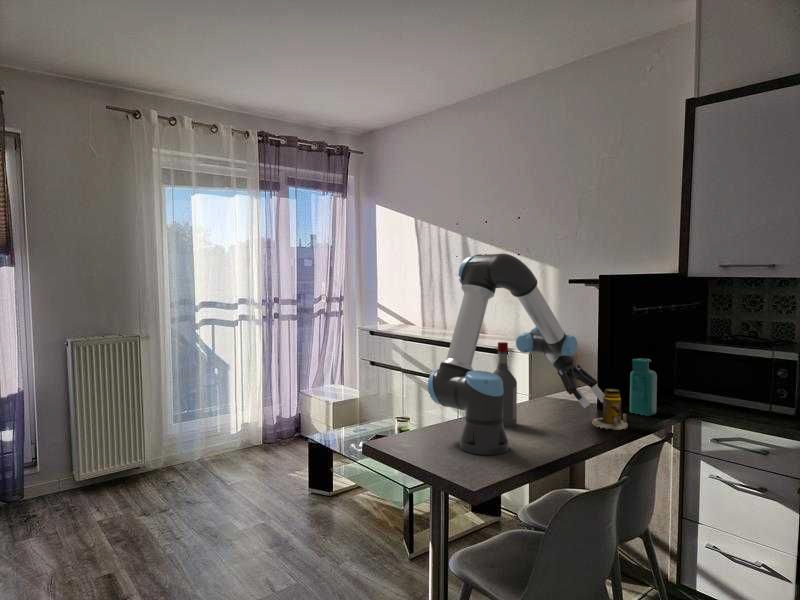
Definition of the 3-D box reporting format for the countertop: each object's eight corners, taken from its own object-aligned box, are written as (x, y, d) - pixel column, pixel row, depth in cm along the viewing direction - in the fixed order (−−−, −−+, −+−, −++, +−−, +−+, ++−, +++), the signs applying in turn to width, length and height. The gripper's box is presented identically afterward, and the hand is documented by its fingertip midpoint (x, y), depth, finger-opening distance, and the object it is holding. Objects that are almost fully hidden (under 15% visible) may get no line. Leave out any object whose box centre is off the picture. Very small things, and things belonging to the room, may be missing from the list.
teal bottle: (635, 409, 216) (636, 356, 216) (657, 413, 210) (658, 358, 210) (626, 413, 209) (627, 358, 209) (648, 417, 203) (649, 360, 203)
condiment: (623, 425, 187) (623, 392, 187) (597, 424, 189) (598, 390, 189) (620, 420, 194) (620, 388, 194) (595, 419, 196) (596, 387, 196)
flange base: (599, 429, 186) (599, 418, 186) (587, 421, 198) (587, 410, 198) (633, 430, 186) (633, 418, 186) (619, 421, 198) (619, 410, 198)
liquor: (510, 420, 198) (511, 341, 197) (518, 427, 189) (518, 344, 188) (486, 421, 197) (487, 341, 196) (492, 427, 188) (493, 344, 187)
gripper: (569, 361, 217) (604, 403, 206) (536, 367, 199) (572, 414, 189) (582, 349, 213) (618, 392, 202) (549, 355, 195) (587, 402, 185)
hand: (596, 403), depth 196 cm, fingers open, 13 cm apart
